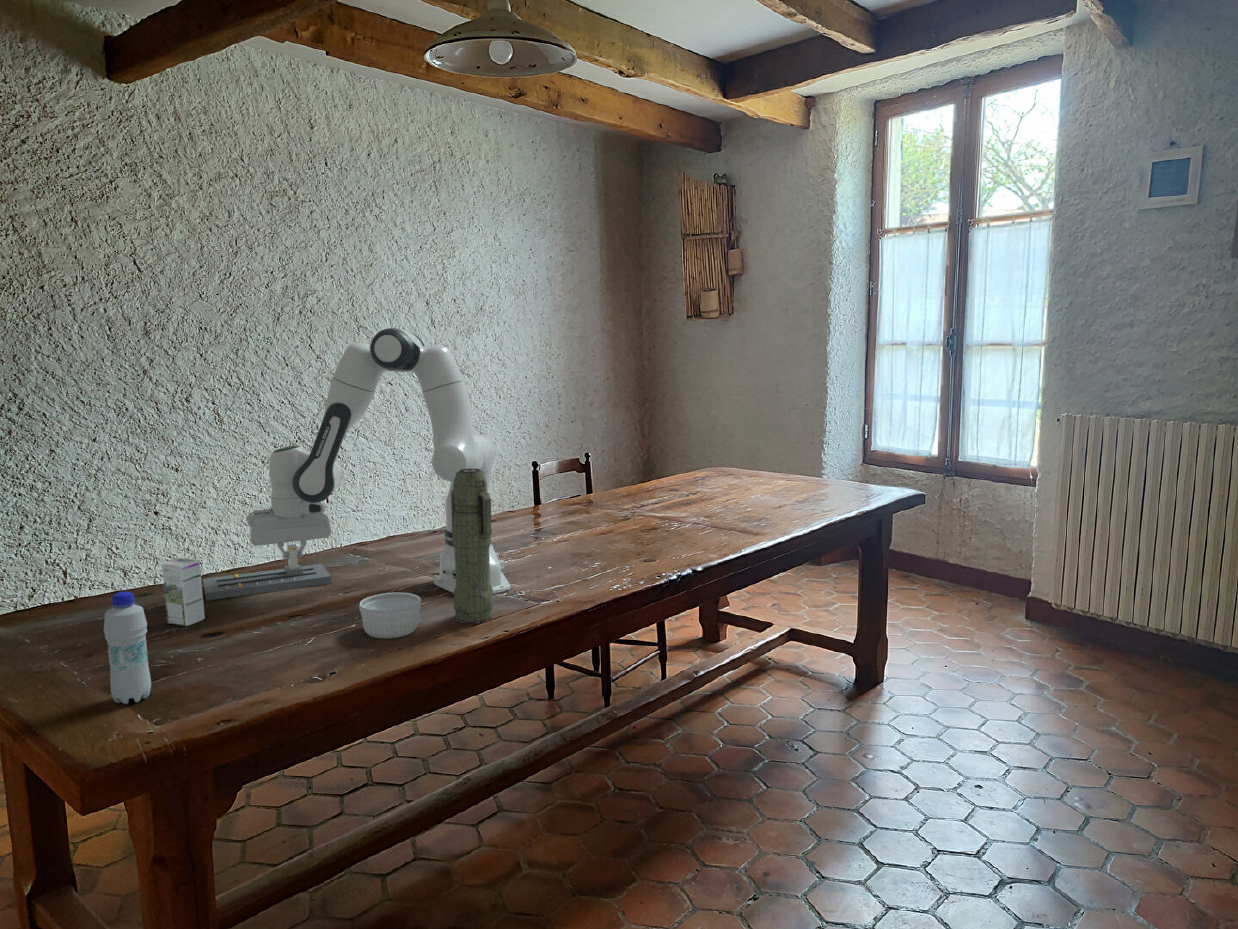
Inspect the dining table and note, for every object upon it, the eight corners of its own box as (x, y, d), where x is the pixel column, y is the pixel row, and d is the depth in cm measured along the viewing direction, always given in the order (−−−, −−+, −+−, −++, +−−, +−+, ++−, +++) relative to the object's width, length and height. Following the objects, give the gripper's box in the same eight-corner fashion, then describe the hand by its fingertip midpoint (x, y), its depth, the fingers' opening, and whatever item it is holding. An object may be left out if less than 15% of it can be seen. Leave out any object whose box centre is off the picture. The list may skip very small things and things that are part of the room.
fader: (303, 574, 221) (301, 547, 220) (287, 576, 219) (285, 548, 218) (300, 569, 225) (298, 543, 224) (284, 571, 223) (282, 544, 222)
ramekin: (398, 617, 194) (397, 588, 193) (434, 629, 186) (433, 599, 185) (348, 632, 184) (347, 602, 183) (384, 646, 176) (382, 614, 175)
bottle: (122, 692, 153) (112, 587, 150) (160, 690, 153) (151, 586, 150) (103, 707, 146) (92, 598, 143) (142, 706, 147) (132, 597, 144)
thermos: (481, 627, 187) (477, 474, 181) (442, 618, 193) (437, 470, 187) (506, 616, 194) (502, 469, 189) (467, 608, 200) (463, 465, 195)
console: (331, 583, 221) (331, 575, 220) (206, 600, 206) (205, 591, 206) (322, 570, 233) (321, 562, 232) (203, 586, 218) (202, 577, 218)
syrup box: (206, 619, 193) (201, 558, 190) (185, 627, 187) (180, 565, 185) (186, 616, 194) (182, 556, 192) (165, 624, 189) (160, 562, 187)
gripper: (248, 513, 212) (251, 565, 214) (331, 505, 222) (333, 555, 224) (245, 508, 217) (249, 559, 219) (326, 501, 227) (329, 550, 229)
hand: (292, 557), depth 222 cm, fingers closed on fader, 2 cm apart
